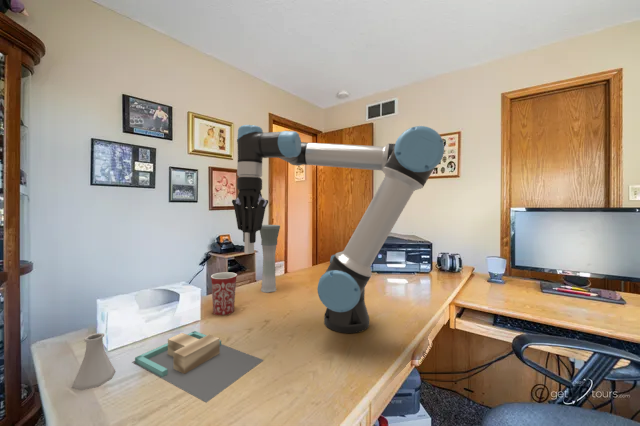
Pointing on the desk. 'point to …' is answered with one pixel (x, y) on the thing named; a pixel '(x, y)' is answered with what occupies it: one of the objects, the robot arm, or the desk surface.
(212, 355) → the tee block
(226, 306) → the mug
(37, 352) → the desk surface
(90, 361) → the flask
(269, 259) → the container
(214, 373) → the mat
